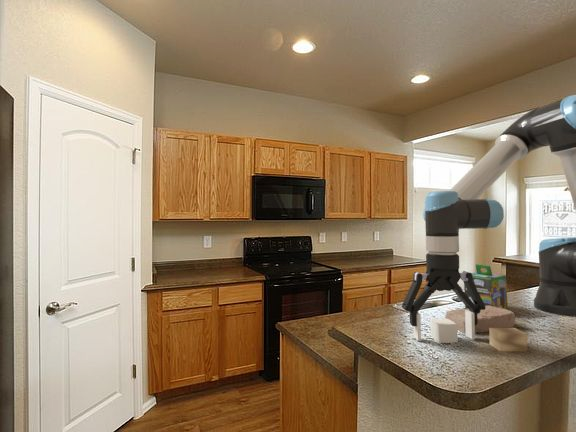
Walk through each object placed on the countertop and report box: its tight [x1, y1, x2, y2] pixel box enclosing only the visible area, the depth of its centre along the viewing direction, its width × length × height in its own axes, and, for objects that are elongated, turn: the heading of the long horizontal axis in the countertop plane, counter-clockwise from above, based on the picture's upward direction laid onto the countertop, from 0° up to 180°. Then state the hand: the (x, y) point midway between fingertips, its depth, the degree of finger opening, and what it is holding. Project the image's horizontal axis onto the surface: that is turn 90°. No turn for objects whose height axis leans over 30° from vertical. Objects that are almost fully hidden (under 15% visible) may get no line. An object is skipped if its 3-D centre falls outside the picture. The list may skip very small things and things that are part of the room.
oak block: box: [488, 327, 528, 352], centre depth 75 cm, size 6×4×4 cm, turn 89°
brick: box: [444, 306, 516, 335], centre depth 90 cm, size 17×8×5 cm, turn 105°
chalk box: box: [463, 263, 509, 310], centre depth 105 cm, size 9×9×15 cm
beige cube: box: [429, 318, 459, 344], centre depth 81 cm, size 4×4×4 cm
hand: (443, 338), depth 80 cm, fingers open, 13 cm apart
